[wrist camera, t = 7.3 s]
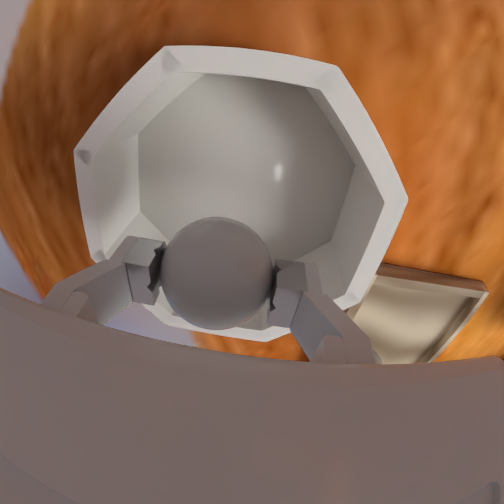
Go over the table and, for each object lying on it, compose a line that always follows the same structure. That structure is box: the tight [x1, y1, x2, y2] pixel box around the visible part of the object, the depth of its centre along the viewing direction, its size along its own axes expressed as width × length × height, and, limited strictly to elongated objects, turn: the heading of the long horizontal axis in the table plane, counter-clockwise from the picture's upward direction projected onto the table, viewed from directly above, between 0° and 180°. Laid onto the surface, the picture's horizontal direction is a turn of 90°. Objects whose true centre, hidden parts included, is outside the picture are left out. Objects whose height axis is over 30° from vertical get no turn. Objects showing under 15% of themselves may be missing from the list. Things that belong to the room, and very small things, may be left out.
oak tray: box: [309, 263, 490, 364], centre depth 23 cm, size 18×14×2 cm
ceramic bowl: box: [73, 46, 408, 342], centre depth 13 cm, size 14×14×6 cm
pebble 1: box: [160, 217, 273, 330], centre depth 10 cm, size 4×4×4 cm
